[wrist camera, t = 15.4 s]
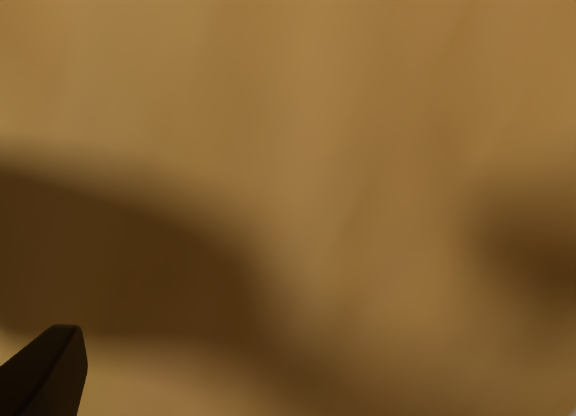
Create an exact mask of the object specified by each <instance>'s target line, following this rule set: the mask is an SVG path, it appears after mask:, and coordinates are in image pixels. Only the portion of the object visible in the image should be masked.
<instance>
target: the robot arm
mask: <svg viewBox="0 0 576 416" xmlns="http://www.w3.org/2000/svg"><path fill="white" fill-rule="evenodd" d="M87 369H88V361H87V355H86V350H85V344H84V339H83V333H82V330H81V328H80V327H79V326H78V325H66V324H56V325H53V326H51V327H49V328H48V329H47V330H45V331H44V332H43V333H42V334H40V335H39V336H38V337H37V338H35V339H34V340H33V341H32V342H30V343H29V344H28V345H27V346H25V347H24V348H23V349H22V350H20V351H19V352H18V353H17V354H15V355H14V356H13V357H12V358H10V359H9V360H8V361H7V362H5V363H4V364H3V365H2V366H0V416H77V412H78V408H79V404H80V400H81V396H82V392H83V388H84V384H85V380H86V376H87Z"/></svg>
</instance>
